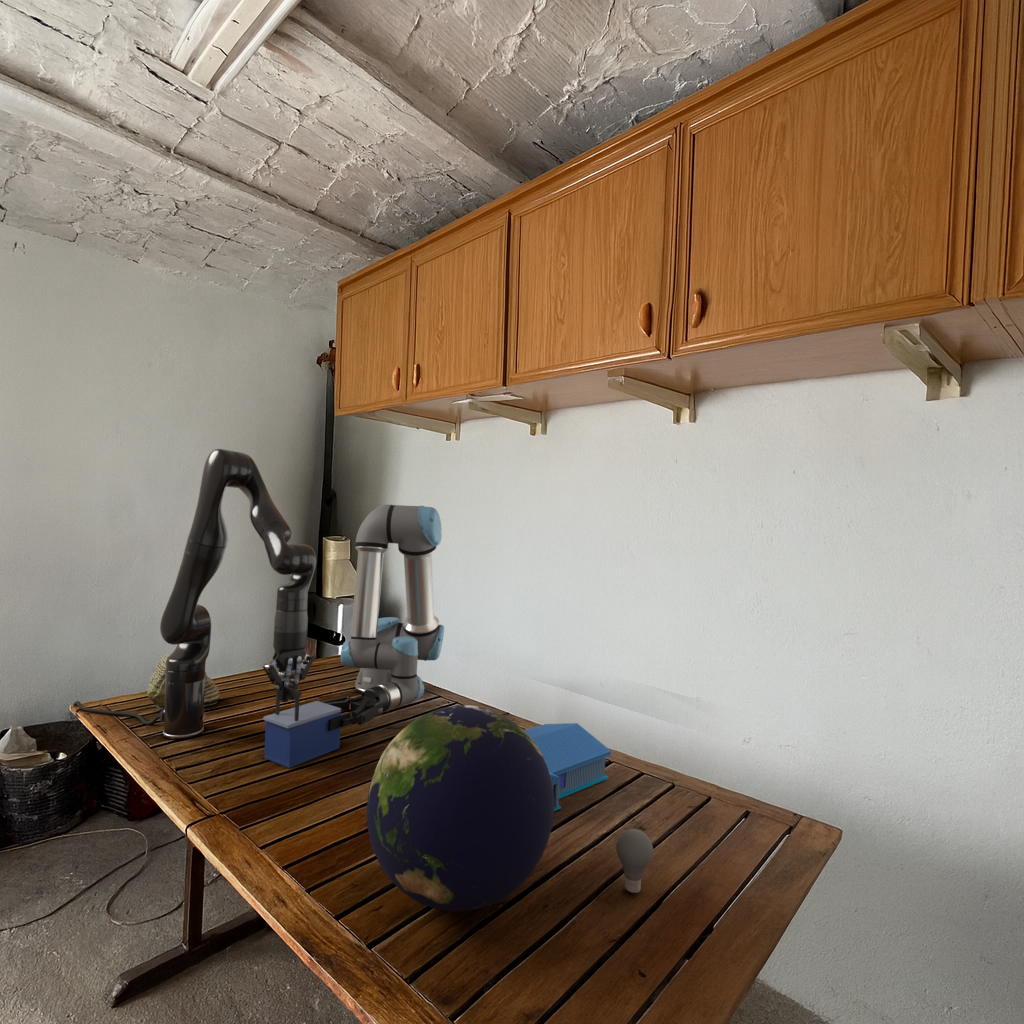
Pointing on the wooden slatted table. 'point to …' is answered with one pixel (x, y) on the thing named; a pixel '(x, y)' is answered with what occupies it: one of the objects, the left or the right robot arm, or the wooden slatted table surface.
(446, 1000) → the wooden slatted table surface
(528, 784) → the globe
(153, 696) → the fossil
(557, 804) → the model building
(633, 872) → the light bulb
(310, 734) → the chest
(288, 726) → the grey lid
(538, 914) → the wooden slatted table surface
